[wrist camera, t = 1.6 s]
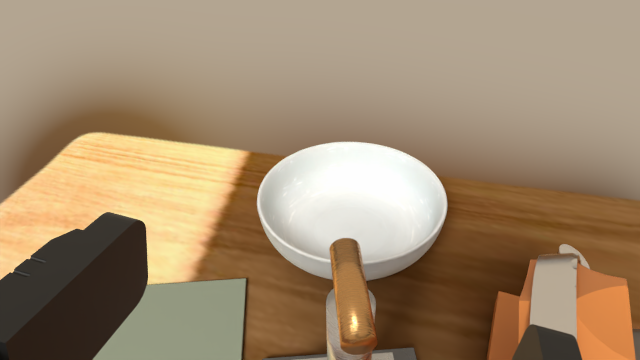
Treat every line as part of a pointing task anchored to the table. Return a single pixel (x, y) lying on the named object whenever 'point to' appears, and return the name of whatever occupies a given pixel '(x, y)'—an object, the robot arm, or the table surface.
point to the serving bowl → (352, 206)
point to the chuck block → (404, 356)
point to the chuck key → (349, 305)
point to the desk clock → (567, 309)
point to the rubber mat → (183, 323)
